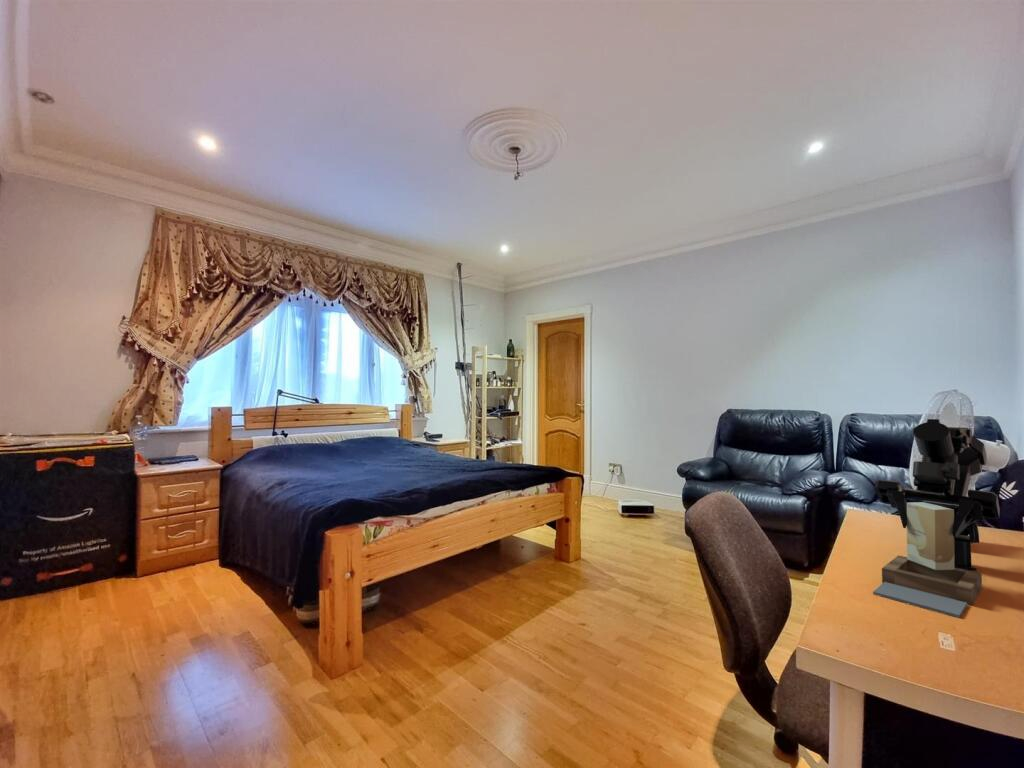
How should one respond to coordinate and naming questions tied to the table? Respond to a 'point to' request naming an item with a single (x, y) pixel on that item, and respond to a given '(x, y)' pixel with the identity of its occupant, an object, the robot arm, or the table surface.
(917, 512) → the skincare box
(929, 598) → the slate mat
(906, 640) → the table surface
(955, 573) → the square wooden frame
